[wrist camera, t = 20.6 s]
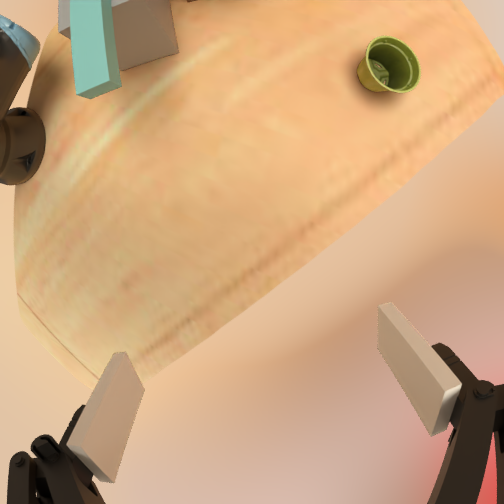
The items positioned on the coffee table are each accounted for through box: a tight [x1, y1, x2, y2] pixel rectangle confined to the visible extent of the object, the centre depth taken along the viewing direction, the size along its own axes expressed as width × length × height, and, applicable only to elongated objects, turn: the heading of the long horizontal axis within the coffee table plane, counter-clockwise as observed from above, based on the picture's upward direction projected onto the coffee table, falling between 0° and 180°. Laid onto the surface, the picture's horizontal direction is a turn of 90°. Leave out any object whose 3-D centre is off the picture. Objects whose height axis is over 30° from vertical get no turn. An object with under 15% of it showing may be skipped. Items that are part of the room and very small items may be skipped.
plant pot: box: [357, 36, 421, 93], centre depth 39 cm, size 9×9×9 cm
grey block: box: [58, 0, 179, 71], centre depth 29 cm, size 10×14×21 cm
